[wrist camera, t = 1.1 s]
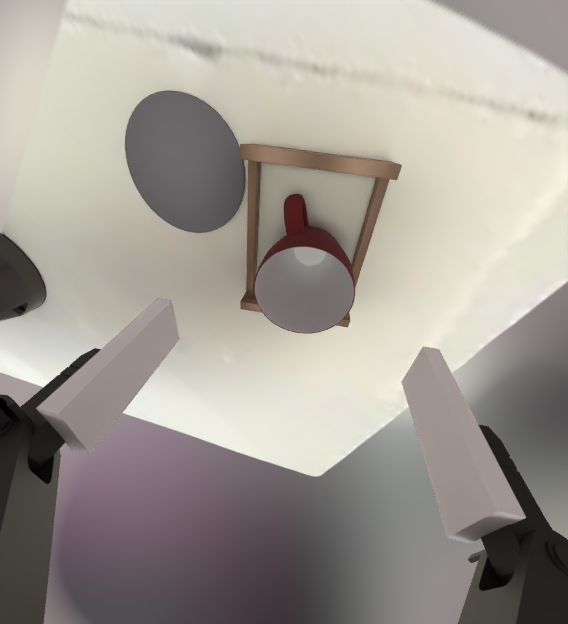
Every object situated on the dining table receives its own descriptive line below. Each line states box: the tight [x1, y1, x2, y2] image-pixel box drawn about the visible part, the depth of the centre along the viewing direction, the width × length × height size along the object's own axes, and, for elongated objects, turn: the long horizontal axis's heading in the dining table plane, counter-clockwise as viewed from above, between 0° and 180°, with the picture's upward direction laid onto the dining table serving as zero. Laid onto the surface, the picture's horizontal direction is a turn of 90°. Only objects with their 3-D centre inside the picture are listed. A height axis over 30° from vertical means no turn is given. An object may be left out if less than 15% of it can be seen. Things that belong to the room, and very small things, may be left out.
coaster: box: [125, 91, 245, 233], centre depth 24 cm, size 12×12×1 cm
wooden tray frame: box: [240, 144, 402, 327], centre depth 25 cm, size 13×16×4 cm
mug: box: [254, 194, 355, 333], centre depth 23 cm, size 11×8×10 cm
